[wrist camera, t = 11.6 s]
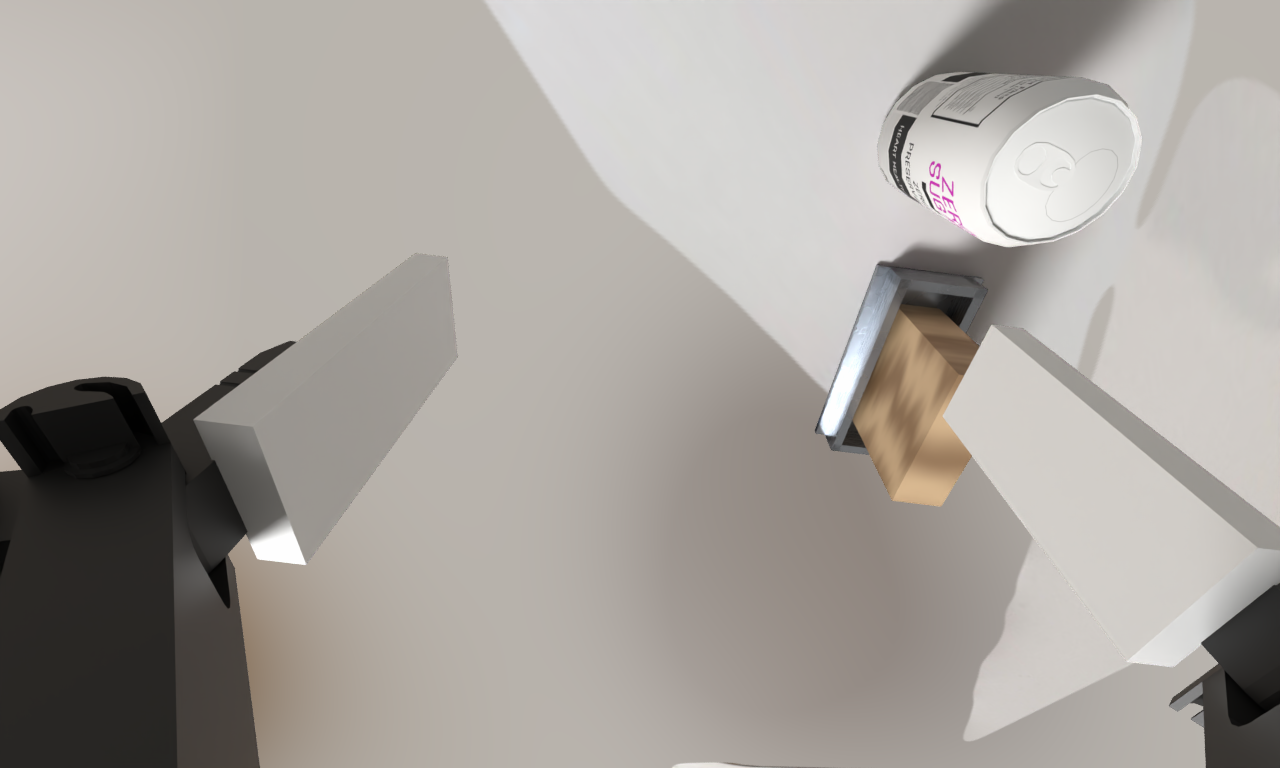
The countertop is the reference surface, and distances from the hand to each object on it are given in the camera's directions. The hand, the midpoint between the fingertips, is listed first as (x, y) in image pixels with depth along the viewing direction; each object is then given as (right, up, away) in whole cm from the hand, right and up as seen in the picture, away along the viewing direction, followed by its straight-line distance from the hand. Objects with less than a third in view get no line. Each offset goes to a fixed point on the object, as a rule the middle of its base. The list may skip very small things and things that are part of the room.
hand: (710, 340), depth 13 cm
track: (+22, +1, +36) cm, 42 cm away
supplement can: (+20, +18, +25) cm, 37 cm away
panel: (+22, +1, +35) cm, 41 cm away
